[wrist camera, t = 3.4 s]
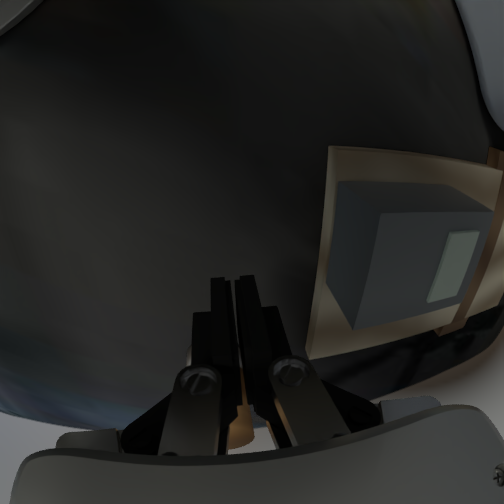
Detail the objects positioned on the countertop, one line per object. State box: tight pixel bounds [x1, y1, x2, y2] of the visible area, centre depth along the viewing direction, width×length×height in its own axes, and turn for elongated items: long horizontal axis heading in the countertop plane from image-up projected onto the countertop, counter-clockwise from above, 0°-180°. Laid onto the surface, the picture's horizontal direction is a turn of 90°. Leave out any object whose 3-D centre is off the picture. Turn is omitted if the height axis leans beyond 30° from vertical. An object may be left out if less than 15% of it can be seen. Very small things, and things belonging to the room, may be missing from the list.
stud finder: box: [326, 181, 494, 331], centre depth 13 cm, size 6×8×4 cm
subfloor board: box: [305, 146, 504, 360], centre depth 18 cm, size 18×24×1 cm
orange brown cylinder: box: [187, 345, 255, 450], centre depth 17 cm, size 4×4×7 cm
